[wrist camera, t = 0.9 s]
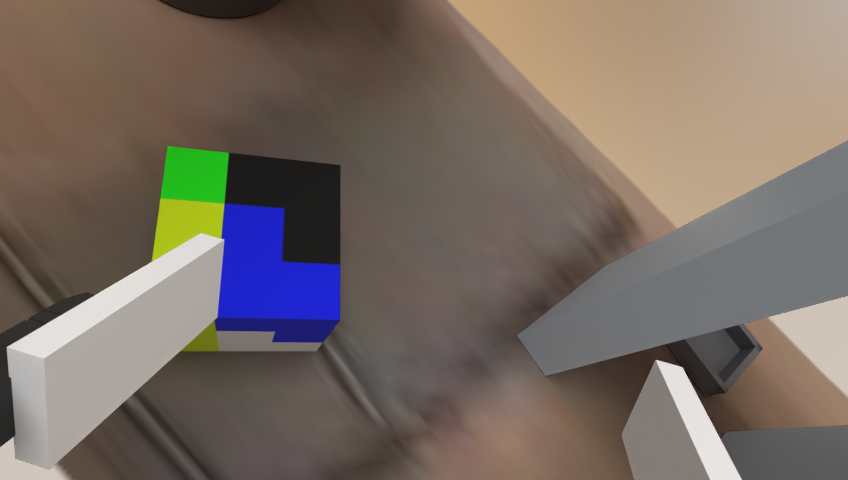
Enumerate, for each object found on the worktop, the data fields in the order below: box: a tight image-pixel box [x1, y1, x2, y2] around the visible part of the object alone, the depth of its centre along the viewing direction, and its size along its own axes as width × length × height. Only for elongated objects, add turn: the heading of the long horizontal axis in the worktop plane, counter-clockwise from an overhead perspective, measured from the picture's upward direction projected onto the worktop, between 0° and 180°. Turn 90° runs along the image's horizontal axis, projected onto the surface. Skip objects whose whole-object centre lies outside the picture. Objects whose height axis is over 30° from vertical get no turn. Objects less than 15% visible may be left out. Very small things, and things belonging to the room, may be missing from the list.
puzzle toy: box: [152, 146, 340, 351], centre depth 35 cm, size 10×10×10 cm
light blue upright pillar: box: [517, 141, 848, 480], centre depth 30 cm, size 12×22×35 cm, turn 37°
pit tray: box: [666, 324, 763, 395], centre depth 49 cm, size 7×7×2 cm
